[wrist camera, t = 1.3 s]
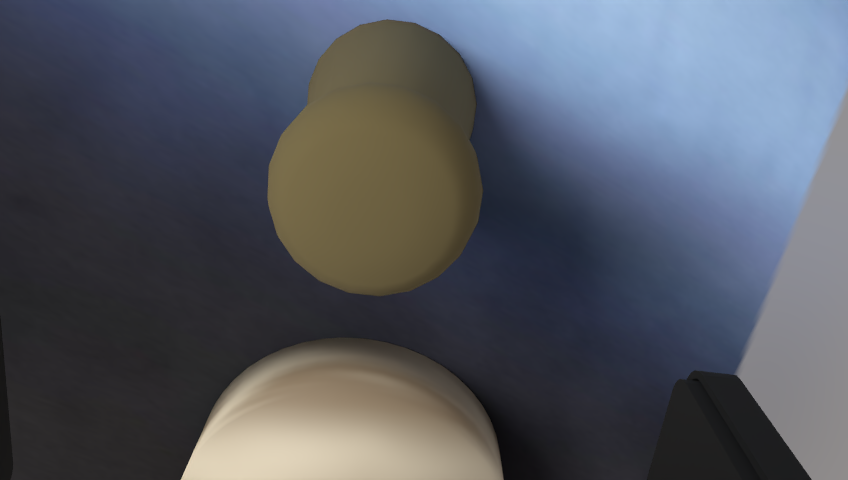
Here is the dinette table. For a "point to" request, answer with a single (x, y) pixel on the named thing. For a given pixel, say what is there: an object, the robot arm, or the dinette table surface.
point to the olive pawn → (380, 162)
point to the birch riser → (346, 419)
